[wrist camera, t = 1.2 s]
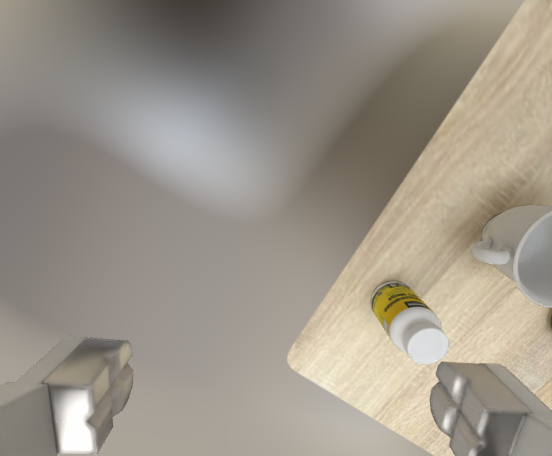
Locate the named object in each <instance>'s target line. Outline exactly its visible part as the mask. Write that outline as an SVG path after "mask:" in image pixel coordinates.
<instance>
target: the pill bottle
mask: <svg viewBox="0 0 552 456" xmlns="http://www.w3.org/2000/svg"><path fill="white" fill-rule="evenodd" d="M371 307H372V310H373V312H374V314H375V315H376V317H377V318H378V320H379V321H380V323H381V325H382V326H383V328H384V329H385V331H386V333H387V334H388V336H389V337H390V339H391V341H392V342H393V344H394V345H395V346H396V347H397V348H398V349H399V350H401V351H403V352H405V353H407V354H408V355H409V357H410V358H411V359H412V360H413V361H415V362H416V363H419V364H432V363H435V362H437V361H439V360H440V359H442V358H443V357H444V356H445V354H446V353H447V351H448V348H449V340H448V337H447V336H446V334H445V333H444V332H443V331H442V328H441V323H440V320H439V319H438V317H437V316H436V314H435V313H434V312H433V311H432V310H431V309H430V308H429V307H428V306H427V305H426V304H425V303H424V302H423V301H422V300H421V299H420V298H419V297H418V296H417V295H416V294H415V293H414V292H413V291H412V290H411V289H410V288H409V287H408V286H407V285H405V284H403V283H401V282H396V281H392V282H387V283H384V284H382V285H380V286H379V287H378V288H377V289H376V290H375V291H374V293H373V295H372V298H371Z"/></svg>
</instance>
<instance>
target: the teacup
mask: <svg viewBox="0 0 552 456" xmlns="http://www.w3.org/2000/svg"><path fill="white" fill-rule="evenodd" d="M471 253H472V256H473V257H474V258H476V259H477V260H479V261H482V262H485V263H489V264H493V265H494V266H495V267H496V268H497V269H498V270H499V271H501V272H502V273H503V274H505V275H506V276H507V277H509V278H510V279H512V280H513V281H514V282H516V285H517V287H518V289H519V290H520V291H521V293H522V294H523V295H524V296H525V297H526V298H527V299H529V300H530V301H532V302H533V303H535V304H538V305H540V306H544V307H549V308H552V206H543V205H524V206H518V207H514V208H511V209H509V210H507V211H505V212H503V213H501V214H500V215H497V216H495V217H493V218H492V219H491V220H490V221H489V222H488V223H487V224H486V226H485V227H484V230H483V233H482V241H479V242H476V243H474V244H473V246H472V248H471Z"/></svg>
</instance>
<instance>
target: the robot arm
mask: <svg viewBox="0 0 552 456" xmlns="http://www.w3.org/2000/svg"><path fill="white" fill-rule="evenodd" d="M131 356H132V346H131V343H130V342H129V341H125V340H114V339H102V338H91V337H90V338H88V337H76V336H69V337H66V338H63V339H62V340H61V341H60V342H59V343H58V344H57V345H56V346H55V347H53V349H51V350H50V351H49V352H48V353H47V354H46V355H45V356H44V357H43V358H41V359H40V360H39V361H38V362H37V363H36V364H35V365H34V366H33V367H32V368H30V369H29V370H28V371H27V372H26V373H25V374H24V375H23V376H22V377H21V378H19V379H18V380H17V381H16V382H7V383H5V384H3V385H0V456H57V453H62V454H63V453H64V454H98V452H99V450H100V449H101V447H102V445H103V443H104V442H105V440H106V438H107V436H108V435H109V433H110V431H111V429H112V428H113V420H112V417H114V416H115V415H116V414H118V413H119V412H120V411H122V410H123V408H124V406H125V405H126V403H127V401H128V398H129V395H130V392H131V389H132V384H133V369H132V368H131V367H130V365H129V364H128V363H127V362H128V361H129V359H130V358H131ZM436 376H437V378H438V380H439V382H438V383H437V384H436V385H435V386H434V387H433V388H432V391H431V395H430V407H431V412H432V415H433V418H434V420H435V422H436V424H437V426H438V427H439V429H440V430H441V431H443V432H444V433H445V434H446V435H448V436H449V437H450V444H449V446H450V448H451V450H452V451H453V453H454V455H455V456H552V411H551V410H550V409H549V408H548V407H547V406H546V405H545V404H544V403H543V402H542V401H541V400H540V399H539V398H538V397H537V396H536V395H535V394H533V393H532V392H531V391H530V390H529V389H528V388H527V387H526V386H525V385H524V384H523V383H522V382H521V381H520V380H519V379H518V378H517V377H515V376H514V375H513V374H512V373H511V372H510V371H509V370H508V369H507V368H506V367H504V366H502V365H500V364H489V363H479V364H473V363H457V362H441V363H440V364H439V366H438V368H437V371H436Z"/></svg>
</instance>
